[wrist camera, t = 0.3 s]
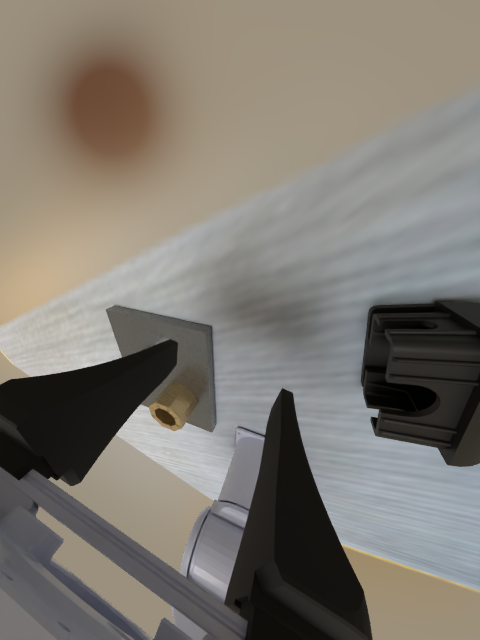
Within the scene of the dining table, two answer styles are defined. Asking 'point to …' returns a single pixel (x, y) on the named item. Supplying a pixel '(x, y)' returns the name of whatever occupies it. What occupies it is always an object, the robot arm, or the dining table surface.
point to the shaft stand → (192, 355)
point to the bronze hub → (173, 406)
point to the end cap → (426, 376)
